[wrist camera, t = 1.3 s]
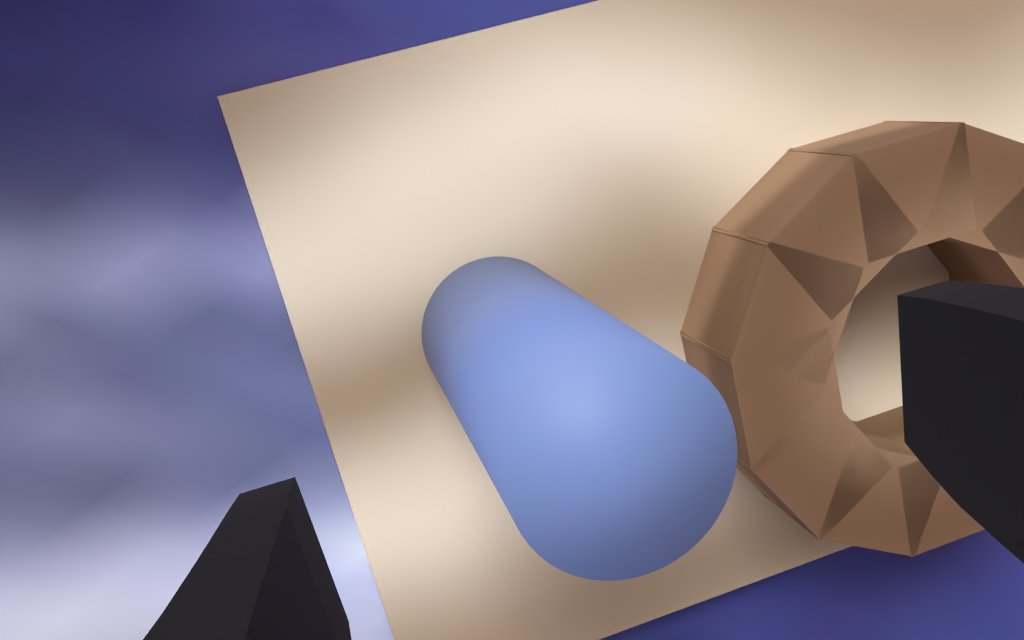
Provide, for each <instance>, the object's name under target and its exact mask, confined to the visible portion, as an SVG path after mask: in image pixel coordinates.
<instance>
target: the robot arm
mask: <svg viewBox="0 0 1024 640" xmlns="http://www.w3.org/2000/svg"><path fill="white" fill-rule="evenodd" d="M897 301H898V321H899V342H900V362H901V382H902V403H903V423H904V442H905V444H906V445H907V446H908V447H909V448H910V450H911V451H912V452H913V453H914V454H915V456H916V457H917V458H918V459H919V461H920V462H921V463H922V464H923V465H924V467H925V468H926V469H927V470H928V471H929V473H930V474H931V475H932V476H933V477H934V479H935V480H936V481H937V482H938V483H939V484H940V485H941V486H942V488H943V489H944V490H945V491H946V492H947V493H948V494H949V495H950V496H951V498H952V499H953V500H954V501H955V502H956V503H957V504H958V505H959V506H960V507H961V508H962V509H963V510H964V511H965V512H966V513H968V514H969V515H970V516H971V517H972V518H973V519H974V520H975V521H976V522H978V523H979V524H980V525H981V526H982V527H983V528H984V529H985V530H987V531H988V532H989V533H990V534H991V535H992V536H993V537H994V538H996V539H997V540H998V541H999V542H1000V543H1001V544H1002V545H1003V546H1005V547H1006V548H1007V549H1008V550H1009V551H1010V552H1011V553H1013V554H1014V555H1015V556H1016V557H1017V558H1018V559H1020V560H1021V561H1022V562H1023V563H1024V288H1018V287H1010V286H1002V285H994V284H985V283H975V282H960V281H943V282H940V283H936V284H933V285H930V286H926V287H923V288H920V289H916V290H913V291H910V292H906V293H903V294H900V295H897ZM143 640H351V634H350V628H349V622H348V619H347V616H346V613H345V611H344V608H343V605H342V603H341V600H340V597H339V594H338V592H337V589H336V586H335V584H334V581H333V578H332V576H331V573H330V570H329V568H328V565H327V562H326V559H325V557H324V554H323V551H322V549H321V546H320V543H319V541H318V538H317V535H316V532H315V530H314V527H313V524H312V522H311V519H310V516H309V514H308V511H307V508H306V506H305V503H304V500H303V497H302V495H301V492H300V489H299V487H298V484H297V481H296V479H295V477H294V478H291V479H288V480H284V481H281V482H278V483H274V484H271V485H268V486H264V487H261V488H258V489H254V490H251V491H248V492H245V493H241V494H240V495H239V496H238V497H237V499H236V500H235V502H234V503H233V505H232V506H231V508H230V509H229V511H228V512H227V514H226V516H225V517H224V519H223V520H222V522H221V523H220V525H219V527H218V528H217V530H216V531H215V533H214V535H213V536H212V538H211V540H210V541H209V543H208V544H207V546H206V547H205V549H204V551H203V552H202V554H201V555H200V557H199V558H198V560H197V562H196V563H195V565H194V566H193V568H192V569H191V571H190V572H189V574H188V575H187V577H186V578H185V580H184V581H183V583H182V584H181V586H180V587H179V589H178V591H177V592H176V594H175V595H174V597H173V598H172V600H171V601H170V603H169V604H168V606H167V607H166V609H165V610H164V612H163V613H162V615H161V616H160V617H159V619H158V620H157V621H156V623H155V624H154V626H153V627H152V628H151V630H150V631H149V632H148V634H147V635H146V636H145V638H144V639H143Z"/></svg>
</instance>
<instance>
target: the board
mask: <svg viewBox="0 0 1024 640" xmlns="http://www.w3.org/2000/svg"><path fill="white" fill-rule="evenodd" d="M218 100H219V103H220V106H221V109H222V112H223V115H224V118H225V121H226V124H227V127H228V130H229V133H230V137H231V140H232V143H233V146H234V149H235V152H236V155H237V158H238V161H239V164H240V167H241V170H242V173H243V176H244V179H245V183H246V186H247V189H248V192H249V195H250V198H251V201H252V204H253V207H254V210H255V213H256V216H257V219H258V222H259V225H260V229H261V232H262V235H263V238H264V241H265V244H266V247H267V250H268V253H269V256H270V259H271V262H272V265H273V268H274V272H275V275H276V278H277V281H278V284H279V287H280V290H281V293H282V296H283V299H284V302H285V305H286V308H287V311H288V314H289V318H290V321H291V324H292V327H293V330H294V333H295V336H296V339H297V342H298V345H299V348H300V351H301V354H302V357H303V361H304V364H305V367H306V370H307V373H308V376H309V379H310V382H311V385H312V388H313V391H314V394H315V397H316V400H317V403H318V407H319V410H320V413H321V416H322V419H323V422H324V425H325V428H326V431H327V434H328V437H329V440H330V443H331V446H332V450H333V453H334V456H335V459H336V462H337V465H338V468H339V471H340V474H341V477H342V480H343V483H344V486H345V489H346V492H347V496H348V499H349V502H350V505H351V508H352V511H353V514H354V517H355V520H356V523H357V526H358V529H359V532H360V535H361V539H362V542H363V545H364V548H365V551H366V554H367V557H368V560H369V563H370V566H371V569H372V572H373V575H374V578H375V581H376V585H377V588H378V591H379V594H380V597H381V600H382V603H383V606H384V609H385V612H386V615H387V618H388V621H389V624H390V628H391V631H392V634H393V637H394V640H600V639H602V638H605V637H608V636H610V635H613V634H616V633H618V632H621V631H624V630H627V629H629V628H632V627H635V626H637V625H640V624H643V623H646V622H648V621H651V620H654V619H656V618H659V617H662V616H664V615H667V614H670V613H673V612H675V611H678V610H681V609H683V608H686V607H689V606H692V605H694V604H697V603H700V602H702V601H705V600H708V599H710V598H713V597H716V596H719V595H721V594H724V593H727V592H729V591H732V590H735V589H737V588H740V587H743V586H746V585H748V584H751V583H754V582H756V581H759V580H762V579H765V578H767V577H770V576H773V575H775V574H778V573H781V572H783V571H786V570H789V569H792V568H794V567H797V566H800V565H802V564H805V563H808V562H811V561H813V560H816V559H819V558H821V557H824V556H827V555H829V554H832V553H835V552H838V551H840V550H843V549H846V548H848V547H851V546H852V545H846V544H841V543H835V542H829V541H824V540H821V541H820V540H818V539H817V538H816V537H814V536H813V535H812V534H811V533H809V532H808V531H807V530H806V529H805V528H803V527H802V526H801V525H800V524H798V523H797V522H796V521H795V520H794V519H792V518H791V517H790V516H789V515H787V514H786V513H785V512H784V511H782V510H781V509H780V508H779V507H778V506H776V505H775V504H774V503H773V502H771V501H770V500H769V499H768V498H766V497H765V496H764V495H763V494H762V492H761V491H760V490H759V489H758V488H757V487H756V486H755V485H754V484H753V483H752V482H751V481H750V480H749V479H748V478H747V477H746V476H745V475H744V474H743V473H742V472H741V471H740V470H739V469H738V468H737V467H736V473H735V478H734V482H733V485H732V489H731V492H730V494H729V497H728V499H727V502H726V504H725V506H724V508H723V510H722V512H721V514H720V515H719V517H718V519H717V520H716V521H715V523H714V524H713V526H712V527H711V529H710V530H709V531H708V532H707V533H706V535H705V536H704V537H703V538H702V539H701V540H700V541H699V542H698V543H697V544H696V545H695V546H694V547H693V548H692V549H691V550H690V551H688V552H687V553H686V554H684V555H683V556H681V557H680V558H679V559H677V560H676V561H674V562H672V563H671V564H669V565H667V566H665V567H664V568H661V569H659V570H657V571H654V572H652V573H650V574H647V575H643V576H640V577H636V578H631V579H626V580H618V581H600V580H590V579H585V578H581V577H577V576H574V575H571V574H569V573H566V572H563V571H561V570H560V569H558V568H556V567H554V566H552V565H551V564H549V563H548V562H547V561H545V560H544V559H543V558H541V557H540V556H539V555H538V554H537V553H536V552H535V551H534V550H533V549H532V548H531V547H530V546H529V545H528V543H527V542H526V541H525V539H524V538H523V536H522V535H521V534H520V532H519V530H518V528H517V526H516V524H515V522H514V521H513V519H512V517H511V515H510V513H509V511H508V510H507V508H506V506H505V504H504V502H503V500H502V499H501V497H500V495H499V493H498V491H497V489H496V488H495V486H494V484H493V482H492V480H491V478H490V476H489V475H488V473H487V471H486V469H485V467H484V465H483V464H482V462H481V460H480V458H479V456H478V454H477V453H476V451H475V449H474V447H473V445H472V443H471V442H470V440H469V438H468V436H467V434H466V432H465V430H464V429H463V427H462V425H461V423H460V421H459V419H458V418H457V416H456V414H455V412H454V410H453V408H452V407H451V405H450V403H449V401H448V399H447V397H446V396H445V394H444V392H443V390H442V388H441V386H440V384H439V383H438V381H437V379H436V377H435V375H434V373H433V372H432V370H431V368H430V366H429V364H428V362H427V359H426V357H425V354H424V350H423V345H422V335H421V333H422V322H423V316H424V313H425V310H426V307H427V304H428V302H429V300H430V298H431V296H432V294H433V293H434V291H435V290H436V288H437V287H438V286H439V285H440V283H441V282H442V281H443V280H444V279H445V278H446V277H447V276H448V275H450V274H451V273H452V272H453V271H455V270H456V269H458V268H459V267H461V266H463V265H465V264H467V263H469V262H472V261H474V260H477V259H481V258H486V257H495V256H501V257H511V258H516V259H520V260H523V261H526V262H528V263H530V264H532V265H534V266H536V267H537V268H539V269H540V270H542V271H543V272H545V273H547V274H548V275H550V276H551V277H553V278H554V279H556V280H558V281H559V282H561V283H562V284H564V285H565V286H567V287H568V288H570V289H572V290H573V291H575V292H576V293H578V294H579V295H581V296H583V297H584V298H586V299H587V300H589V301H590V302H592V303H594V304H595V305H597V306H598V307H600V308H601V309H603V310H605V311H606V312H608V313H609V314H611V315H612V316H614V317H616V318H617V319H619V320H620V321H622V322H623V323H625V324H627V325H628V326H630V327H631V328H633V329H634V330H636V331H638V332H639V333H641V334H642V335H644V336H645V337H647V338H649V339H650V340H652V341H653V342H655V343H656V344H658V345H659V346H661V347H663V348H664V349H666V350H667V351H669V352H670V353H672V354H674V355H675V356H677V357H678V358H680V359H681V360H683V361H685V362H686V357H685V353H684V348H683V343H682V338H681V335H680V331H681V329H682V326H683V323H684V319H685V316H686V313H687V310H688V306H689V303H690V300H691V297H692V293H693V290H694V287H695V284H696V280H697V277H698V274H699V271H700V267H701V264H702V261H703V257H704V254H705V251H706V248H707V244H708V241H709V238H710V235H711V231H712V230H711V229H712V228H713V226H715V225H716V224H717V223H718V222H719V221H720V220H721V219H722V218H723V217H724V216H725V215H726V214H727V213H728V212H729V211H730V210H731V209H732V208H733V207H734V206H735V204H736V203H737V202H738V201H739V200H740V199H741V198H742V197H743V196H744V195H745V194H746V193H747V192H748V191H749V190H750V189H751V188H752V187H753V186H754V185H755V184H756V183H757V182H758V181H759V180H760V179H761V178H762V177H763V176H764V175H765V174H766V173H767V172H768V171H769V170H770V168H771V167H772V166H773V165H774V164H775V163H776V162H777V161H778V160H779V159H780V158H781V157H782V156H783V155H784V154H785V153H786V152H787V150H789V149H790V148H795V147H799V146H802V145H806V144H809V143H813V142H816V141H820V140H823V139H827V138H830V137H833V136H837V135H840V134H844V133H847V132H851V131H854V130H858V129H861V128H865V127H868V126H871V125H875V124H878V123H882V122H884V121H926V122H965V124H968V125H971V126H974V127H976V128H979V129H982V130H985V131H988V132H991V133H994V134H997V135H1000V136H1003V137H1006V138H1009V139H1012V140H1015V141H1018V142H1021V143H1024V0H598V1H594V2H590V3H586V4H583V5H579V6H575V7H571V8H567V9H563V10H559V11H555V12H551V13H547V14H543V15H539V16H535V17H531V18H527V19H523V20H519V21H515V22H511V23H507V24H503V25H499V26H495V27H491V28H487V29H483V30H479V31H475V32H471V33H467V34H464V35H460V36H456V37H452V38H448V39H444V40H440V41H436V42H432V43H428V44H424V45H420V46H416V47H412V48H408V49H404V50H400V51H396V52H392V53H388V54H384V55H380V56H376V57H372V58H368V59H364V60H360V61H356V62H352V63H348V64H344V65H341V66H337V67H333V68H329V69H325V70H321V71H317V72H313V73H309V74H305V75H301V76H297V77H293V78H289V79H285V80H281V81H277V82H273V83H269V84H265V85H261V86H257V87H253V88H249V89H245V90H241V91H237V92H233V93H229V94H225V95H222V96H218ZM943 281H950V280H949V272H948V271H947V270H946V268H945V267H944V266H943V265H942V263H941V262H940V261H939V260H938V258H937V257H936V256H935V254H934V253H933V252H932V251H931V249H930V248H929V247H928V246H927V245H924V246H921V247H917V248H914V249H911V250H908V251H905V252H902V253H898V254H896V255H895V256H894V257H893V258H892V259H891V260H890V261H889V262H888V263H887V264H886V265H885V266H884V267H883V268H882V269H881V270H880V271H879V272H878V274H877V275H876V276H875V277H874V278H873V279H872V280H871V281H870V282H869V283H868V284H867V285H866V286H865V287H864V288H863V289H862V290H861V291H860V292H859V293H858V294H857V295H856V296H855V297H854V298H853V301H852V304H851V307H850V310H849V313H848V316H847V319H846V322H845V325H844V328H843V331H842V334H841V337H840V340H839V343H838V346H837V349H836V352H835V355H834V358H835V365H836V371H837V377H838V383H839V390H840V396H841V402H842V408H843V412H844V413H845V414H846V415H847V416H848V417H849V419H850V420H852V421H860V420H863V419H865V418H868V417H871V416H874V415H877V414H880V413H883V412H886V411H889V410H891V409H894V408H897V407H900V406H902V405H903V403H902V382H901V362H900V342H899V321H898V301H897V295H900V294H903V293H906V292H910V291H913V290H916V289H920V288H923V287H926V286H930V285H933V284H936V283H940V282H943ZM686 363H687V362H686Z"/></svg>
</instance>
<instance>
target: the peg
mask: <svg viewBox="0 0 1024 640" xmlns="http://www.w3.org/2000/svg"><path fill="white" fill-rule="evenodd" d="M421 335H422V345H423V350H424V354H425V357H426V359H427V362H428V364H429V366H430V368H431V370H432V372H433V373H434V375H435V377H436V379H437V381H438V383H439V384H440V386H441V388H442V390H443V392H444V394H445V396H446V397H447V399H448V401H449V403H450V405H451V407H452V408H453V410H454V412H455V414H456V416H457V418H458V419H459V421H460V423H461V425H462V427H463V429H464V430H465V432H466V434H467V436H468V438H469V440H470V442H471V443H472V445H473V447H474V449H475V451H476V453H477V454H478V456H479V458H480V460H481V462H482V464H483V465H484V467H485V469H486V471H487V473H488V475H489V476H490V478H491V480H492V482H493V484H494V486H495V488H496V489H497V491H498V493H499V495H500V497H501V499H502V500H503V502H504V504H505V506H506V508H507V510H508V511H509V513H510V515H511V517H512V519H513V521H514V522H515V524H516V526H517V528H518V530H519V532H520V534H521V535H522V536H523V538H524V539H525V541H526V542H527V543H528V545H529V546H530V547H531V548H532V549H533V550H534V551H535V552H536V553H537V554H538V555H539V556H540V557H541V558H543V559H544V560H545V561H547V562H548V563H549V564H551V565H552V566H554V567H556V568H558V569H560V570H561V571H563V572H566V573H569V574H571V575H574V576H577V577H581V578H585V579H590V580H600V581H618V580H626V579H631V578H636V577H640V576H643V575H647V574H650V573H652V572H654V571H657V570H659V569H661V568H664V567H665V566H667V565H669V564H671V563H672V562H674V561H676V560H677V559H679V558H680V557H681V556H683V555H684V554H686V553H687V552H688V551H690V550H691V549H692V548H693V547H694V546H695V545H696V544H697V543H698V542H699V541H700V540H701V539H702V538H703V537H704V536H705V535H706V533H707V532H708V531H709V530H710V529H711V527H712V526H713V524H714V523H715V521H716V520H717V519H718V517H719V515H720V514H721V512H722V510H723V508H724V506H725V504H726V502H727V499H728V497H729V494H730V492H731V489H732V485H733V482H734V478H735V473H736V466H737V439H736V431H735V427H734V423H733V420H732V416H731V414H730V412H729V409H728V407H727V404H726V403H725V401H724V399H723V398H722V396H721V394H720V393H719V391H718V390H717V389H716V388H715V386H714V385H713V384H712V383H711V382H710V380H708V379H707V378H706V377H705V376H704V375H703V374H702V373H701V372H700V371H698V370H697V369H695V368H694V367H692V366H691V365H689V364H688V363H686V362H685V361H683V360H681V359H680V358H678V357H677V356H675V355H674V354H672V353H670V352H669V351H667V350H666V349H664V348H663V347H661V346H659V345H658V344H656V343H655V342H653V341H652V340H650V339H649V338H647V337H645V336H644V335H642V334H641V333H639V332H638V331H636V330H634V329H633V328H631V327H630V326H628V325H627V324H625V323H623V322H622V321H620V320H619V319H617V318H616V317H614V316H612V315H611V314H609V313H608V312H606V311H605V310H603V309H601V308H600V307H598V306H597V305H595V304H594V303H592V302H590V301H589V300H587V299H586V298H584V297H583V296H581V295H579V294H578V293H576V292H575V291H573V290H572V289H570V288H568V287H567V286H565V285H564V284H562V283H561V282H559V281H558V280H556V279H554V278H553V277H551V276H550V275H548V274H547V273H545V272H543V271H542V270H540V269H539V268H537V267H536V266H534V265H532V264H530V263H528V262H526V261H523V260H520V259H516V258H511V257H501V256H495V257H486V258H481V259H477V260H474V261H472V262H469V263H467V264H465V265H463V266H461V267H459V268H458V269H456V270H455V271H453V272H452V273H451V274H450V275H448V276H447V277H446V278H445V279H444V280H443V281H442V282H441V283H440V285H439V286H438V287H437V288H436V290H435V291H434V293H433V294H432V296H431V298H430V300H429V302H428V304H427V307H426V310H425V313H424V316H423V322H422V333H421Z"/></svg>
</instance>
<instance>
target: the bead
mask: <svg viewBox="0 0 1024 640" xmlns="http://www.w3.org/2000/svg"><path fill="white" fill-rule="evenodd" d="M711 230H712V231H711V235H710V238H709V241H708V244H707V248H706V251H705V254H704V257H703V261H702V264H701V267H700V271H699V274H698V277H697V280H696V284H695V287H694V290H693V293H692V297H691V300H690V303H689V306H688V310H687V313H686V316H685V319H684V323H683V326H682V329H681V331H680V335H681V338H682V343H683V348H684V353H685V357H686V362H687V363H688V364H689V365H691V366H692V367H694V368H695V369H697V370H698V371H700V372H701V373H702V374H703V375H704V376H705V377H706V378H707V379H708V380H710V382H711V383H712V384H713V385H714V386H715V388H716V389H717V390H718V391H719V393H720V394H721V396H722V398H723V399H724V401H725V403H726V404H727V407H728V409H729V412H730V414H731V416H732V420H733V423H734V427H735V431H736V439H737V466H736V467H737V468H738V469H739V470H740V471H741V472H742V473H743V474H744V475H745V476H746V477H747V478H748V479H749V480H750V481H751V482H752V483H753V484H754V485H755V486H756V487H757V488H758V489H759V490H760V491H761V492H762V494H763V495H764V496H765V497H766V498H768V499H769V500H770V501H771V502H773V503H774V504H775V505H776V506H778V507H779V508H780V509H781V510H782V511H784V512H785V513H786V514H787V515H789V516H790V517H791V518H792V519H794V520H795V521H796V522H797V523H798V524H800V525H801V526H802V527H803V528H805V529H806V530H807V531H808V532H809V533H811V534H812V535H813V536H814V537H816V538H817V539H818V540H820V541H821V540H824V541H829V542H835V543H841V544H846V545H852V546H857V547H863V548H868V549H874V550H880V551H885V552H891V553H896V554H902V555H907V556H910V557H915V556H916V555H918V554H921V553H924V552H926V551H929V550H932V549H934V548H937V547H939V546H942V545H945V544H947V543H950V542H953V541H955V540H958V539H961V538H963V537H966V536H969V535H971V534H974V533H977V532H979V531H982V530H985V529H984V528H983V527H982V526H981V525H980V524H979V523H978V522H976V521H975V520H974V519H973V518H972V517H971V516H970V515H969V514H968V513H966V512H965V511H964V510H963V509H962V508H961V507H960V506H959V505H958V504H957V503H956V502H955V501H954V500H953V499H952V498H951V496H950V495H949V494H948V493H947V492H946V491H945V490H944V489H943V488H942V486H941V485H940V484H939V483H938V482H937V481H936V480H935V479H934V477H933V476H932V475H931V474H930V473H929V471H928V470H927V469H926V468H925V467H924V465H923V464H922V463H921V462H920V461H919V459H918V458H917V457H916V456H915V454H914V453H913V452H912V451H911V450H910V448H909V447H908V446H907V445H906V444H905V442H904V423H903V405H902V406H900V407H897V408H894V409H891V410H889V411H886V412H883V413H880V414H877V415H874V416H871V417H868V418H865V419H863V420H860V421H852V420H850V419H849V417H848V416H847V415H846V414H845V413H844V412H843V408H842V402H841V396H840V390H839V383H838V377H837V371H836V365H835V358H834V355H835V352H836V349H837V346H838V343H839V340H840V337H841V334H842V331H843V328H844V325H845V322H846V319H847V316H848V313H849V310H850V307H851V304H852V301H853V298H854V297H855V296H856V295H857V294H858V293H859V292H860V291H861V290H862V289H863V288H864V287H865V286H866V285H867V284H868V283H869V282H870V281H871V280H872V279H873V278H874V277H875V276H876V275H877V274H878V272H879V271H880V270H881V269H882V268H883V267H884V266H885V265H886V264H887V263H888V262H889V261H890V260H891V259H892V258H893V257H894V256H895V255H896V254H898V253H902V252H905V251H908V250H911V249H914V248H917V247H921V246H924V245H927V246H928V247H929V248H930V249H931V251H932V252H933V253H934V254H935V256H936V257H937V258H938V260H939V261H940V262H941V263H942V265H943V266H944V267H945V268H946V270H947V271H948V272H949V280H950V281H960V282H975V283H985V284H994V285H1002V286H1010V287H1018V288H1024V143H1021V142H1018V141H1015V140H1012V139H1009V138H1006V137H1003V136H1000V135H997V134H994V133H991V132H988V131H985V130H982V129H979V128H976V127H974V126H971V125H968V124H965V122H926V121H884V122H882V123H878V124H875V125H871V126H868V127H865V128H861V129H858V130H854V131H851V132H847V133H844V134H840V135H837V136H833V137H830V138H827V139H823V140H820V141H816V142H813V143H809V144H806V145H802V146H799V147H795V148H790V149H789V150H787V152H786V153H785V154H784V155H783V156H782V157H781V158H780V159H779V160H778V161H777V162H776V163H775V164H774V165H773V166H772V167H771V168H770V170H769V171H768V172H767V173H766V174H765V175H764V176H763V177H762V178H761V179H760V180H759V181H758V182H757V183H756V184H755V185H754V186H753V187H752V188H751V189H750V190H749V191H748V192H747V193H746V194H745V195H744V196H743V197H742V198H741V199H740V200H739V201H738V202H737V203H736V204H735V206H734V207H733V208H732V209H731V210H730V211H729V212H728V213H727V214H726V215H725V216H724V217H723V218H722V219H721V220H720V221H719V222H718V223H717V224H716V225H715V226H713V228H712V229H711Z"/></svg>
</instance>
